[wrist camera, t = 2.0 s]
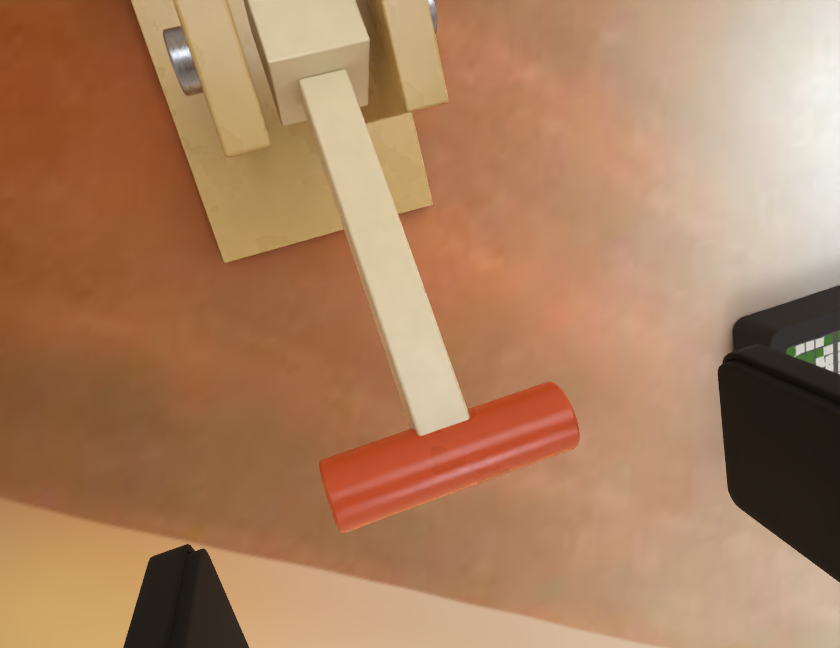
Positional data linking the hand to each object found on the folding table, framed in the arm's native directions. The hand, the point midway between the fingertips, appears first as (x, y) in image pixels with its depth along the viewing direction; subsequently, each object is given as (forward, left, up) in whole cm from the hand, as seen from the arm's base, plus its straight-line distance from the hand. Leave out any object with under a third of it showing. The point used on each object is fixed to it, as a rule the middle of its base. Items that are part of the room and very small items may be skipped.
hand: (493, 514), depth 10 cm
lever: (-4, -1, -6) cm, 7 cm away
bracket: (-9, -2, -18) cm, 20 cm away
